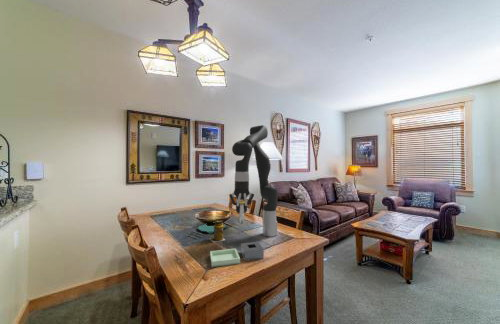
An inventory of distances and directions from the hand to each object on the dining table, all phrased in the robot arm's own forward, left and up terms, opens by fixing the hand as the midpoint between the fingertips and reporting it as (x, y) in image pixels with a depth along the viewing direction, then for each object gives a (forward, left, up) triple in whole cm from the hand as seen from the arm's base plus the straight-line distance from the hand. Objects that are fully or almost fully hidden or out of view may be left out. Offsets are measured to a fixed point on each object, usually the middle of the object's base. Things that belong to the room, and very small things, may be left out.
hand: (241, 212), depth 109 cm
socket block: (-6, -1, -24) cm, 25 cm away
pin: (0, 0, -6) cm, 6 cm away
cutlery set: (+16, -46, -25) cm, 55 cm away
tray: (+9, 0, -24) cm, 25 cm away
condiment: (+10, -28, -24) cm, 38 cm away
